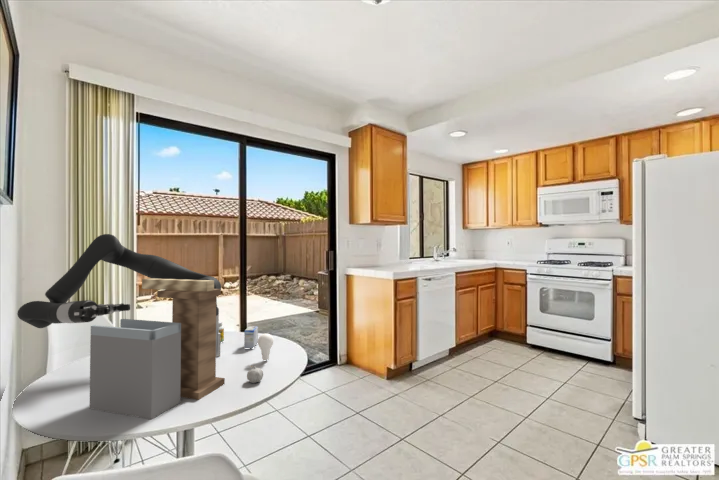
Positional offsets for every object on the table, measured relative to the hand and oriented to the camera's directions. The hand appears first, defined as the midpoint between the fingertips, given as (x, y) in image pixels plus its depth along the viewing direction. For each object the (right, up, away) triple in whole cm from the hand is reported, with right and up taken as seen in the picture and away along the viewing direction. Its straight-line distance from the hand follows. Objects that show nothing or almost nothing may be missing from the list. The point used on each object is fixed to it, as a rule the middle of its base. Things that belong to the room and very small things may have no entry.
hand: (119, 309), depth 115 cm
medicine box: (+32, -26, +40) cm, 58 cm away
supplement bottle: (+14, -26, +47) cm, 56 cm away
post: (+26, -25, -5) cm, 37 cm away
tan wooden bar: (+22, +7, -3) cm, 23 cm away
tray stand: (+17, -25, -17) cm, 34 cm away
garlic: (+46, -25, 0) cm, 53 cm away
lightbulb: (+44, -25, +21) cm, 55 cm away
